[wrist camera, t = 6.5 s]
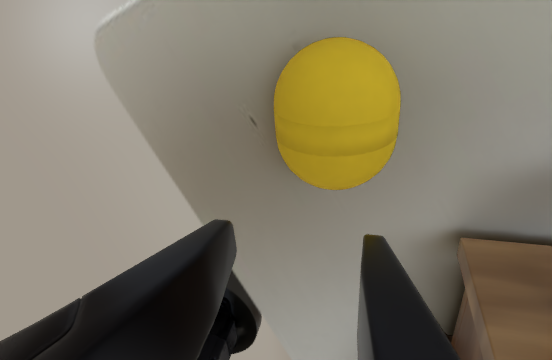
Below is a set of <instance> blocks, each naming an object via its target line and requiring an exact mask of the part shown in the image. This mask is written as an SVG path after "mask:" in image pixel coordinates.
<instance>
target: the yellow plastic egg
mask: <svg viewBox="0 0 552 360" xmlns="http://www.w3.org/2000/svg"><path fill="white" fill-rule="evenodd" d="M400 105H401V101H400V88H399V83H398V79H397V77H396V75H395V73H394V71H393V68H392V66H391V65H390V64H389V62H388V61H387V60H386V58H385V57H384V56H383V55H382V54H381V53H380V52H378V51H377V50H376V49H375V48H374V47H372V46H370V45H368V44H366V43H364V42H362V41H359V40H355V39H351V38H346V37H334V38H327V39H323V40H320V41H317V42H314V43H312V44H310V45H308V46H307V47H305V48H304V49H302V50H300V51H299V52H298V53H297V54H296V55H295V56H294V57H293V58H292V59H291V60H290V61H289V62H288V64H287V65H286V67H285V68H284V69H283V71H282V73H281V75H280V77H279V80H278V82H277V85H276V89H275V94H274V118H275V130H276V138H277V144H278V149H279V151H280V153H281V156H282V158H283V160H284V161H285V163H286V164H287V166H288V167H289V168H290V170H291V171H292V172H293V173H295V174H296V175H297V176H298V177H299V178H300V179H301V180H303V181H305V182H307V183H309V184H311V185H313V186H316V187H318V188H322V189H329V190H342V189H349V188H352V187H355V186H358V185H360V184H362V183H365V182H367V181H368V180H370V179H371V178H372V177H373V176H375V175H376V174H377V173H378V172H380V171H381V169H382V168H383V167H384V165H385V164H386V163H387V161H388V160H389V159H390V157H391V155H392V152H393V150H394V148H395V143H396V138H397V135H398V125H399V115H400Z"/></svg>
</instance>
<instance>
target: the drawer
mask: <svg viewBox="0 0 552 360" xmlns="http://www.w3.org/2000/svg"><path fill="white" fill-rule="evenodd" d="M457 257H458V261H459V265H460V269H461V273H462V277H463V281H464V285H465V291H464V295H463V299H462V303H461V307H460V310H459V314H458V318H457V322H456V326H455V330H454V334H453V338H452V342H451V344H452V346H453V348H454V349H455V351H456V352H457V354H458V355H459V357H460V359H461V360H552V246H545V245H535V244H524V243H514V242H503V241H493V240H482V239H471V238H461V239H460V243H459V247H458V251H457Z"/></svg>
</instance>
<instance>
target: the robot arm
mask: <svg viewBox="0 0 552 360" xmlns="http://www.w3.org/2000/svg"><path fill="white" fill-rule="evenodd" d="M236 251H237V248H236V241H235V235H234V229H233V225H232V223H231V222H230V221H228V220H218V219H216V220H213V221H211V222H209V223H208V224H206V225H204V226H202V227H201V228H199V229H197V230H196V231H194V232H192V233H190V234H189V235H187V236H185V237H184V238H182V239H180V240H178V241H177V242H175V243H174V244H172V245H170V246H168V247H166V248H165V249H163V250H161V251H160V252H158V253H156V254H155V255H153V256H151V257H149V258H147V259H146V260H144V261H142V262H140V263H139V264H137V265H135V266H134V267H132V268H130V269H128V270H127V271H125V272H123V273H122V274H120V275H118V276H116V277H115V278H113V279H111V280H109V281H108V282H106V283H104V284H103V285H101V286H99V287H97V288H96V289H94V290H92V291H91V292H89V293H87V294H85V295H84V296H82V299H80V298H78V299H77V300H75V301H73V302H72V303H70V304H68V305H66V306H65V307H63V308H61V309H59V310H58V311H56V312H54V313H52V314H50V315H49V316H47V317H45V318H43V319H42V320H40V321H38V322H36V323H34V324H33V325H31V326H29V327H27V328H25V329H23V330H21V331H19V332H17V333H15V334H13V335H12V336H10V337H8V338H6V339H4V340H2V341H0V360H229V359H230V357H231V354H232V352H233V349H234V348H235V347H236V346H237V343H238V342H237V339H238V335H237V330H236V325H235V320H234V319H233V316H232V311H231V306H230V301H229V300H228V299H227V298H225V297H223V295H224V292H225V289H226V286H227V282H228V279H229V276H230V273H231V270H232V267H233V264H234V260H235V257H236ZM357 347H358V360H461V359H460V357H459V355H458V354H457V352H456V351H455V349H454V348H453V346H452V344H451V343H450V341H449V340H448V338H447V336H446V335H445V333H444V332H443V330H442V328H441V327H440V325H439V324H438V322H437V321H436V319H435V317H434V316H433V314H432V313H431V311H430V309H429V308H428V306H427V305H426V303H425V301H424V300H423V298H422V297H421V295H420V294H419V292H418V290H417V289H416V287H415V286H414V284H413V282H412V281H411V279H410V278H409V276H408V274H407V273H406V271H405V270H404V268H403V267H402V265H401V263H400V262H399V260H398V259H397V257H396V255H395V254H394V252H393V251H392V249H391V247H390V246H389V244H388V243H387V241H386V239H385V238H384V237H383V236H379V235H369V234H366V235H364V238H363V249H362V261H361V276H360V293H359V310H358V329H357Z"/></svg>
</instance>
